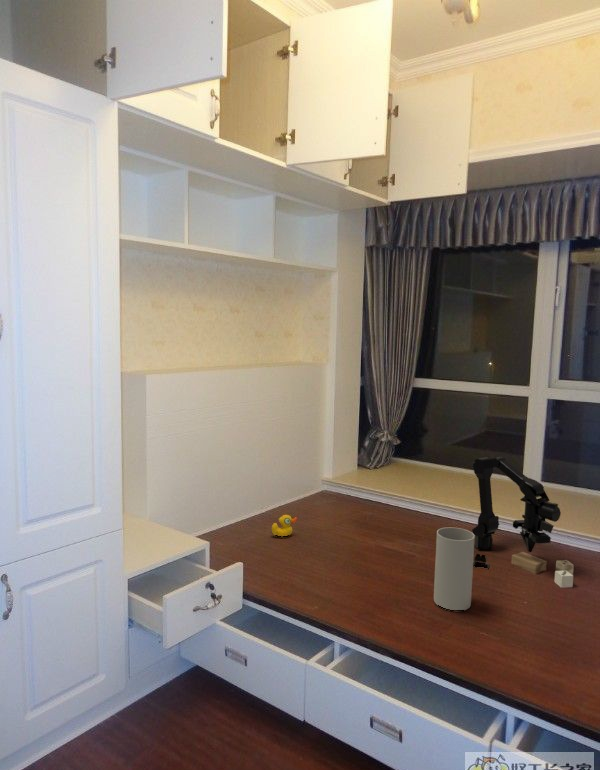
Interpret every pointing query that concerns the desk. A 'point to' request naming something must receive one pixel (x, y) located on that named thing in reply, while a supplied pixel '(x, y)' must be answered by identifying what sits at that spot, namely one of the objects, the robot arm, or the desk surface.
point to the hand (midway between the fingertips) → (529, 551)
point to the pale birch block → (564, 566)
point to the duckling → (283, 526)
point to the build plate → (482, 559)
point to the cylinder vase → (454, 568)
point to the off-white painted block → (563, 579)
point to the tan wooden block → (529, 562)
